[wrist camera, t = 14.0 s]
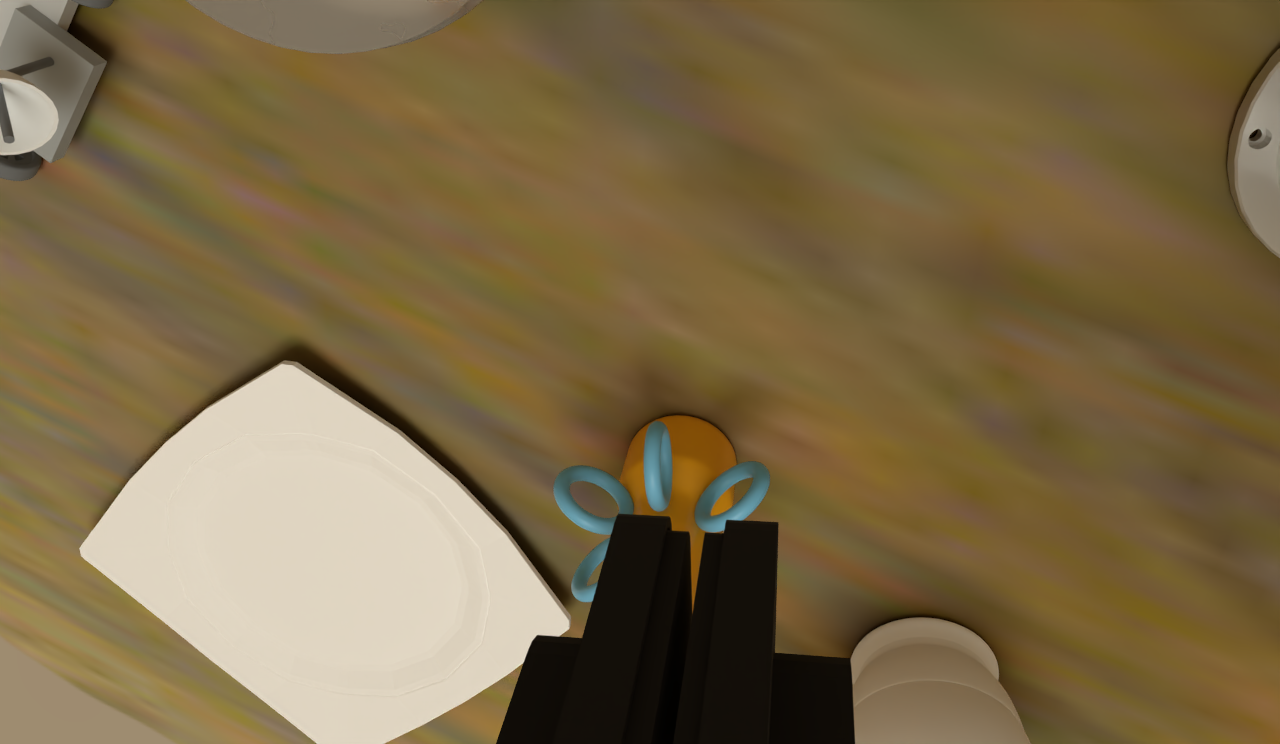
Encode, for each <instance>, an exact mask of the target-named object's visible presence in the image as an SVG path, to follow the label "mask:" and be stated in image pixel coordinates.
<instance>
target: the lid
mask: <svg viewBox="0 0 1280 744" xmlns="http://www.w3.org/2000/svg"><path fill="white" fill-rule="evenodd" d="M186 1H187V2H188V3H190V4H191V5H192V6H194V7H195V8H197V9H198V10H200V11H201V12H203V13H205V14H206V15H208V16H210V17H211V18H213V19H215V20H216V21H218V22H219V23H221V24H223V25H225V26H227V27H229V28H231V29H234V30H236V31H238V32H240V33H242V34H244V35H247V36H249V37H251V38H254V39H257V40H260V41H263V42H266V43H269V44H272V45H276V46H279V47H283V48H288V49H294V50H299V51H304V52H310V53H330V54H343V53H354V52H365V51H371V50H375V49H379V48H383V47H387V46H391V45H395V44H398V43H400V42H402V41H405V40H407V39H410V38H412V37H415V36H417V35H419V34H422V33H423V32H425V31H427V30H428V29H430V28H432V27H433V26H435V25H437V24H438V23H440V22H442V21H443V20H445V19H447V18H448V17H450V16H452V15H453V14H455V13H457V12H458V11H459V10H460V9H462V8H463V7H464V6H465V5H466V4H468V3H469V2H470V1H471V0H186Z"/></svg>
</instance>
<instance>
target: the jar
mask: <svg viewBox="0 0 1280 744" xmlns="http://www.w3.org/2000/svg"><path fill="white" fill-rule="evenodd" d="M850 661H851V669H852V684H853V708H854V729H855V744H1031V743H1030V741H1029V739H1028V737H1027V735H1026V733H1025V731H1024V729H1023V726H1022V723H1021V720H1020V718H1019V715H1018V713H1017V711H1016V709H1015V707H1014V705H1013V703H1012V701H1011V699H1010V697H1009V696H1008V694H1007V693H1006V691H1005V689H1004V688H1003V687H1002V685H1001V684H1000V683H999V681H998V680H999V669H998V663H997V660H996V658H995V655H994V653H993V652H992V650H991V649H990V647H989V646H988V645H987V644H986V642H985V641H984V640H983V639H981V638H980V637H979V636H978V635H977V634H975V633H974V632H972V631H970V630H969V629H967V628H965V627H963V626H961V625H958V624H956V623H953V622H950V621H946V620H941V619H936V618H925V617H917V618H906V619H901V620H896V621H892V622H890V623H887V624H884V625H882V626H880V627H878V628H876V629H875V630H873V631H871V632H870V633H869V634H867V635H866V636H865V637H864V638H863V639H862V640H861V641H860V642H859V643H858V645H857V646H856V648H855V650H854V652H853V654H852V657H851V660H850Z"/></svg>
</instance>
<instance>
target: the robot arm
mask: <svg viewBox="0 0 1280 744" xmlns="http://www.w3.org/2000/svg"><path fill="white" fill-rule="evenodd" d="M1256 129H1258V133H1257V134H1256V136H1254V137H1253V138H1249V136H1250V134H1251V133H1252V132H1254V131H1255V130H1256ZM1227 170H1228V177H1229V185H1230V192H1231V195H1232V198H1233V200H1234V203H1235V205H1236V208H1237V210H1238V213H1239V215H1240V217H1241V218H1242V220H1243V221H1244V222H1245V224H1246V225H1247V227H1248V228H1249V229H1250V231H1251V232H1252V234H1253V235H1254V236H1255V237H1256V238H1257V239H1258V240H1259V241H1260V242H1262V243H1263V244H1264V245H1265V246H1266V247H1267V248H1268V249H1269V250H1270V251H1271V252H1272V253H1274V254H1275V255H1276V256H1278V257H1279V258H1280V48H1279V49H1278V50H1277V51H1276V52H1275V53H1274V54H1273V55H1272V57H1271V58H1270V59H1269V61H1268V62H1267V63H1266V65H1265V66H1264V67H1263V69H1262V70H1261V72H1260V73H1259V74H1258V76H1257V77H1256V78H1255V80H1254V81H1253V83H1252V84H1251V86H1250V88H1249V90H1248V92H1247V94H1246V96H1245V98H1244V100H1243V102H1242V104H1241V106H1240V108H1239V110H1238V113H1237V116H1236V119H1235V123H1234V126H1233V130H1232V133H1231V136H1230V140H1229V151H1228V163H1227ZM777 558H778V522H760V521H742V520H726V523H725V530H724V533H706V532H705V535H704V540H703V547H702V553H701V560H700V567H699V573H698V580H697V587H696V593H695V600H694V607H693V613H692V581H691V542H690V533H689V531H672V523H671V518H670V517H669V516H652V515H634V514H618V515H617V517H616V520H615V522H614V526H613V530H612V533H611V537H610V540H609V544H608V547H607V551H606V555H605V558H604V562H603V565H602V569H601V573H600V576H599V580H598V583H597V587H596V590H595V594H594V598H593V601H592V605H591V608H590V612H589V616H588V619H587V623H586V626H585V630H584V633H583V637H582V638H571V637H558V636H545V635H537V636H536V637H535V638H534V639H533V640H532V642H531V645H530V647H529V649H528V652H527V654H526V657H525V660H524V663H523V666H522V669H521V672H520V675H519V678H518V681H517V684H516V687H515V690H514V693H513V696H512V698H511V701H510V704H509V707H508V710H507V713H506V716H505V719H504V722H503V725H502V728H501V731H500V734H499V737H498V740H497V743H496V744H855V729H854V708H853V686H852V669H851V661H850V658H837V657H824V656H810V655H797V654H784V653H775V630H776V594H777Z"/></svg>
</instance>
